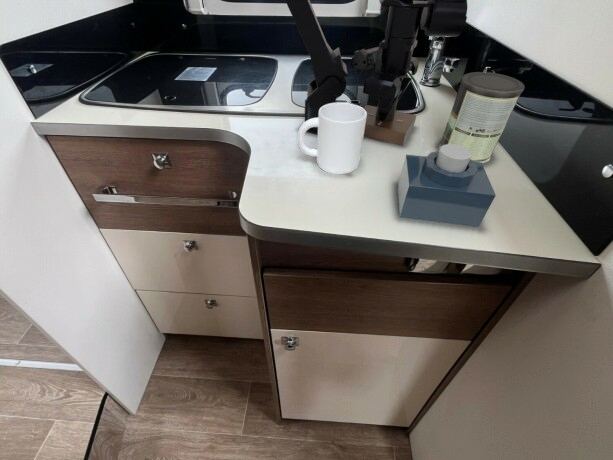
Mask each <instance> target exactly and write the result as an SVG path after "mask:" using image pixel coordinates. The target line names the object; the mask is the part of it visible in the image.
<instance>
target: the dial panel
mask: <svg viewBox="0 0 613 460" xmlns="http://www.w3.org/2000/svg"><path fill="white" fill-rule="evenodd" d="M362 108H363V109H365V111H366V112H367V117H366V124H365V130H364V136H363V138H367V139H371V140H375V141H379V142H384V143H387V144H392V145H396V146H399V147H400V146H401V147H403V146H404V144H405V143H406V141H407V139H408V138H409V136H410V134H411V132H413V130H414V126H415V123H416V119H417V114H411V113H408V112H402V111H397V110H396V111H395V115H394V119H393V120H392V121H387V122H386V121H380V120H378V119H376V111H377V106H374V105H369V104H365V105H364V107H362Z"/></svg>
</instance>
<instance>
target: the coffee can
mask: <svg viewBox="0 0 613 460" xmlns="http://www.w3.org/2000/svg"><path fill="white" fill-rule="evenodd" d="M524 90H525V84H524V83H523V82H522V81H520V80H519V79H516V78H515V77H512V76H508V75H505V74H502V73H495V72H489V71H475V72H473V71H472V72H468V73H465V74H464V75H462V77H461V80H460V85H459V88H458V91H457V93H456V96H455V100H454V102H453V105H452V108H451V112H450V114H449V117H448V120H447V123H446V126H445V128H444V131H443V135H442V138H441V140H440V143H439V145H438V151H439V150H440V148H441V146H443V145H446V144H455V145H460V146H463V147H465V148H467V149H468V150H470V152H471V153H472V156H471V158H470V159H471V160H472V161H474V162H481V163H482V165H483V164H485V163H488V162H489V161H490V160H491V158H492V156H493V153H494V151H495V148H496V147H497V144H498V142H499V140H500V139H501V136H502V134H503V132H504V130H505V128H506V126H507V124H508V121H509V119H510V117H511V115H512V113H513V111H514V109H515V107H516V104H517V103H518V101H519V98H520V96H521V95H522V93H523V92H524Z"/></svg>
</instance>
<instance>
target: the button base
mask: <svg viewBox="0 0 613 460" xmlns="http://www.w3.org/2000/svg"><path fill="white" fill-rule="evenodd" d="M438 153H439V150H437V151H432V152H429V154H427V156H423V155H415V154H405V157H404V161H403V164H402V168H401V172H400V176H399V178H398V179H399V180H398V183H397V193H398V194H397V195H398V207H399V208H398V209H399V211H398V212H399V218H402V219H410V220H411V219H412V220H419V221H426V222H432V223H433V222H434V223H443V224H449V225H458V226H464V227H473V228H479V227H480V225H482V222H483V220H484V218H485V216H486V215H487V213H488V211H489V209H490V207H491V205H492V204H493V202H494V200H495V198H496V193H495V190H494V187H493V185H492V183H491V181H490V179H489V176H488V174H487V172H486V169H485V167H484V165H483V164H482V163H481V162H474V161H472V160H471V159H470V161H469V163H468V165H467V168H466V170H465V171H464V172H459V173H457V172H449V171H446V170H444V169H441V168H440V167H438V166H437V165H436V159H437V156H438Z"/></svg>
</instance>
